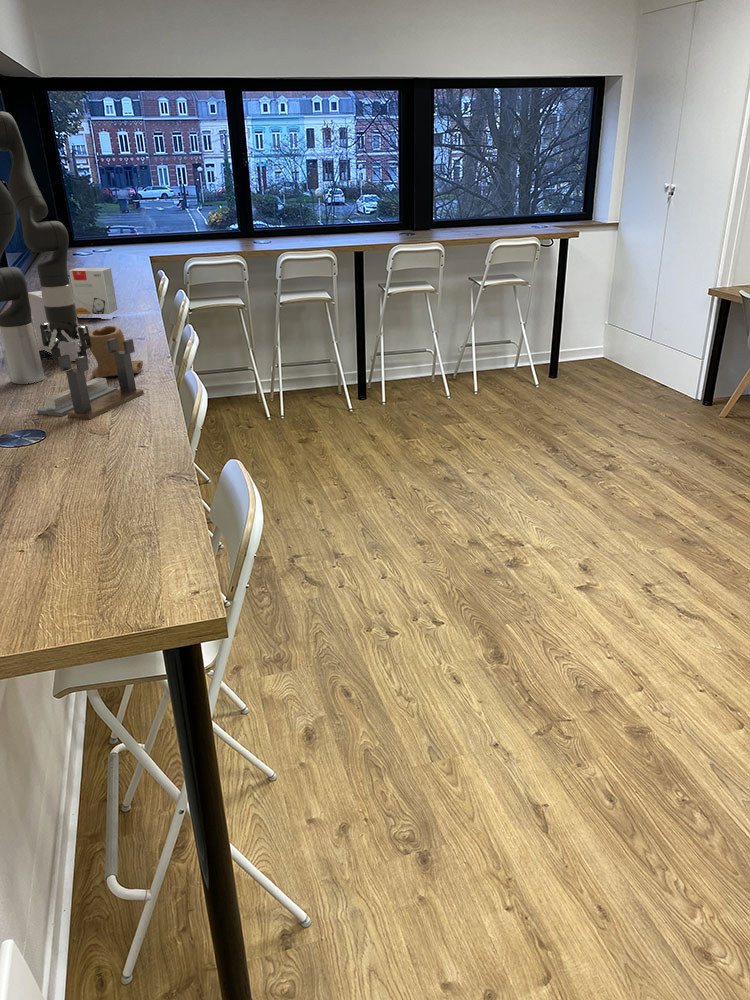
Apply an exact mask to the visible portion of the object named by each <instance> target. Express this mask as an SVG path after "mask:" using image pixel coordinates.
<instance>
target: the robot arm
mask: <svg viewBox="0 0 750 1000" xmlns="http://www.w3.org/2000/svg"><path fill="white" fill-rule="evenodd" d="M0 152H9V153H10V155H11V157H12V165H11V170H10V172H9V178H8V184H7V185H8V189H7V187H6V186H5V185H4V184H3V182H2V180H0V262H1V259H2V256H3V253H4V251H5V249H6V248H7V246H8V244H9V243H10V242H11V240H12V237H13V235H14V234H15V231H16V228H17V217H16V214H17V213H16V210H17V212H18V214H19V219H20V223H21V228H22V230H21V231H22V238H23V242H24V244H25V246H26V247H27V248H28V249H29V250H30V251H32V252H33V253H43V252H52V255H51V257H50V258H49V259H45V260H43V261H41V262H39V263H37V274H38V276H39V283H40V288H41V290H40V291H42V299H43V304H44V309H45V313H46V318H47V321H48V322H49V323H50V324H49V323H44V324H41V325H40V329H41V335H42V342H43V345H44V346H47V347H49V348H50V349H51V353H52V355H51V357H52V360H53V361H54V363H55V364H56V363H57V364H59V361H58V357H61V353H60V348H58V346H59V344H60V342H62V341H65V342H70V344H71V345H73V346H74V347H75V348H76V349H77V351H78V352H77V353H78V358H79V357H81V356H86V357H87V362H88V360H89V359H88V355H87V350H88V349H89V350H90V348H91V347H92V344H91V340H90V336H89V332H90V331H89V327H88V326H87V324H86V325H81V326H79V327H78V326H77V324H76V319H77V314H76V309H75V303H74V298H73V293H72V287H71V282H70V277H69V271H68V251H69V239H70V238H69V232H68V230H67V227H66V226H65V225H64V224H63V223H62V222H61V221H58V220H50V221H42V220H44V219H45V218H46V217H47V216H48V213H49V209H48V205H47V203H46V201H45V199H44V197H43V195H42V192H41V190H40V189H39V186H38V184H37V182H36V180H35V177H34V174H33V172H32V168H31V164H30V160H29V158H28V153H27V150H26V147H25V144H24V141H23V138H22V135H21V132H20V130H19V126H18V124H17V122H16V120H15V118H14V117H13V116H12V114H10V113H9V112H6V111H0ZM24 275H25V274H24V273H23V272H22V270H21V269H20V267H17V266H6V267H0V303H4V302H10V301H11V304H10V305H9V307H8V308H6V310H4V311H2V312H1V313H0V335H1V340H2V344H3V348H4V349H3V351H2V355H3V359H4V363H5V367H6V372H7V375H8V379H9V382H11V383H13V384H17V385H27V384H28V383H29V384H34V382H35V383H39V382H41V381H43V380H45V377H46V376H45V374H44V368H43V363H42V359H41V354H40V350H39V346H38V345H39V344H38V342H37V341H38V339H37V335H36V332H35V326H34V322H33V319H32V318H33V317H32V310H31V306H30V301H29V296H28V291H29V290H28V286H27V281H26V278H25V276H24ZM77 320H78V319H77ZM51 332H52V333H53V334H51ZM75 338H76V339H77V340H74V339H75ZM47 339H48V341H47ZM79 345H80V346H79Z"/></svg>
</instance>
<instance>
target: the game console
mask: <svg viewBox="0 0 750 1000" xmlns="http://www.w3.org/2000/svg"><path fill="white" fill-rule="evenodd" d="M28 296H29V302H30V307H31V316H32V318H33V319H32V320H33V325H34V329H35V331H36V332H35V334H36V338H37V341H38V342H37V343H38V345H39V346H40V349H41V350H42V351H43V350H45V351H47V352H50V353H51V349H50V348H49V347H47V346H44V345H43V342H42V335H41V329H40V325H41V324H44V323H49V322H48V321H47V318H46V313H45V309H44V304H43V299H42V291H41V290H39V291H38V290H37V291H31V292H28ZM49 324H50V323H49ZM76 324H77V326H78V327H80V324H79V321H78V319H76ZM51 334H53V333H52V332H51ZM74 340H77V339H76V338H75V339H74ZM47 341H48V339H47ZM79 346H80V345H79ZM58 348H60V353H61V356H63V355H69V356H70V361H75V359H76V358H78V353H77V352H78V351H77V349H76V348H75V347H74V346H73V345H71V344H70V342H65V341H62V342H60V344H59V346H58ZM45 351H44V352H45ZM47 352H46V353H47Z"/></svg>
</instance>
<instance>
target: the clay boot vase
mask: <svg viewBox="0 0 750 1000" xmlns="http://www.w3.org/2000/svg"><path fill="white" fill-rule="evenodd" d="M89 336H90V340H91V344H92V347H91V348H89V350H90V351H91V354H92V355H93V357H94V359H95V360H96V363H97V367H95V368H94V369H93V370H92V371H91V374H92V376H94V378H97V377H98V378H109V377H118V373H117V368H116V362H115V356H114V353H116V352H119V351H124V345H123V341H125V337H124V333H123V332H122V330H121V328H120V327H118V326H115V325H106V326H104V327H103V326H102V327H101V328H95V329H93V330H90V331H89ZM112 338H117V343H118V349H119V351H116V352H114V353H109V351H108V345H107V340H109V339H112ZM131 362H132V368H133V373H134V375H135V374H139V373H140V372H141V371H142V369H143V365H144V361H143V360H131Z"/></svg>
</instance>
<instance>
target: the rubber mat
mask: <svg viewBox="0 0 750 1000" xmlns="http://www.w3.org/2000/svg"><path fill="white" fill-rule="evenodd" d="M117 390H118V387H111V386H108V389H105V390H103V391H101V392H98V393H96V394H94V395H91V396H89V399H90V402H92V401H94V400H97V399H99V398H101V397H103V396H106V395H108V394H110V393H112V392H115V391H117ZM72 410H74V407H73V404H71V405H68V406H66V407H64V408H61V409H59V410H57V411H54V410H47V406H46V405H45V406H43V407H42V408H39V409H37V410H36V411H37V414H38V415H45V414H48V416H54V415H55V416H56V417H64V416H66V415H68V414H67V412H70V411H72Z"/></svg>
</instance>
